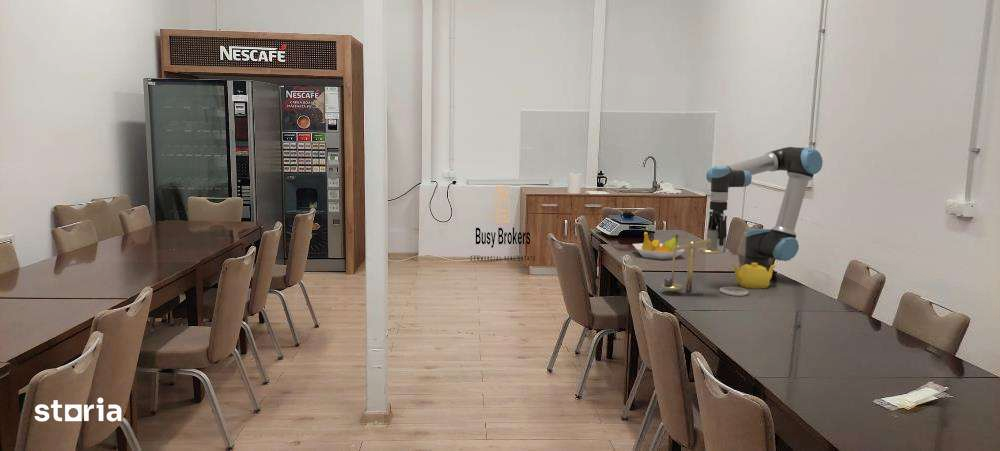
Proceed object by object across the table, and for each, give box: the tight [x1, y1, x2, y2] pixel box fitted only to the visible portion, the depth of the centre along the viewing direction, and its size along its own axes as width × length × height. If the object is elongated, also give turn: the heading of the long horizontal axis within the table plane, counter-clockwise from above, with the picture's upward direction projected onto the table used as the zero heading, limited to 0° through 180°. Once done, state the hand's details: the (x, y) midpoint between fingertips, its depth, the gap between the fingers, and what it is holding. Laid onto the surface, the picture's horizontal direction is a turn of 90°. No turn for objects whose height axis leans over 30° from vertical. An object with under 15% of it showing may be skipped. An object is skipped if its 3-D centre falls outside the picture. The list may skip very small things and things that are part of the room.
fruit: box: [632, 231, 686, 261], centre depth 391 cm, size 30×26×14 cm
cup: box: [705, 228, 728, 254], centre depth 320 cm, size 8×8×10 cm
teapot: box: [731, 263, 778, 290], centre depth 327 cm, size 22×16×11 cm
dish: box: [719, 286, 749, 297], centre depth 312 cm, size 12×12×1 cm
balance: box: [660, 238, 721, 297], centre depth 307 cm, size 24×9×24 cm, turn 96°
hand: (715, 250), depth 321 cm, fingers closed on cup, 8 cm apart
